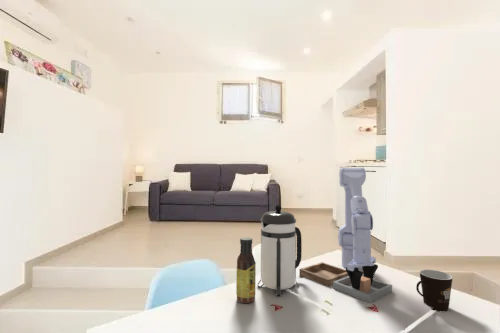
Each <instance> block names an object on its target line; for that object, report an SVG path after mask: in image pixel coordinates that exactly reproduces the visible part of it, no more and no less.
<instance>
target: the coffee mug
mask: <svg viewBox="0 0 500 333" xmlns="http://www.w3.org/2000/svg"><path fill="white" fill-rule="evenodd" d="M419 279H420V280H419V281H418V282H417V283H416V291H417V293H418V294H419V295H420V296H421V297H422V299H423V300H422V301H423V303H424V304H425V305H426V306H428V307H431V310H432V311H435V310H436V311H435V312H440V311H442V312H443V311H445V312H448V311H449V306H450V300H451V292H452V284H453V275H451V274H450V273H447V272H444V271H441V270H436V269H421V270H419ZM420 286H421V291H420V289H419V287H420Z"/></svg>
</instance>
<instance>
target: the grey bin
mask: <svg viewBox="0 0 500 333" xmlns="http://www.w3.org/2000/svg"><path fill="white" fill-rule="evenodd" d="M362 276H364V274H362ZM332 289H335V290H337V291H339V292H342V293H343V294H346V295H349V296H351V297H354V298H357V299H358V300H360V301H361V300H362V301H364V302H366V303H369V304H371V303H373V302H375V301H377V300H379V299H382V298H383V297H385V296H387V295H389V294H391V293H392V292H393V285H392V284H389V283H386V282H383V281H380V280H377V279H374V278H373V281H372V284H371V290H370V291H368V292H366V293H365V292H362V291H359V290H357V289H354V288H352V284H351V280H350V278H349V276H347V277H344V278H342V279H339V280H336V281H334V282H333V285H332Z"/></svg>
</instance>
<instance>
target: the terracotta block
mask: <svg viewBox="0 0 500 333" xmlns="http://www.w3.org/2000/svg"><path fill="white" fill-rule="evenodd" d="M370 290H371V279H370V278H367V277H364V275H363V276H362V277H361V281H360V289H359V291H362V292H365V293H366V292H368V291H370Z"/></svg>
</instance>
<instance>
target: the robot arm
mask: <svg viewBox="0 0 500 333" xmlns="http://www.w3.org/2000/svg"><path fill="white" fill-rule="evenodd" d="M338 175H339V186H340V187H342V188H343V189H344V224H343V225H341V226H339V228H338V235H337V240H338V246H340V247H341V264H340V265H338V267H340V266H341V267H343V269H345V270H346V272H347V273H348V275H349V278H350V280H351V284H352V288H354V289H357V290H359V289H360V281H361V277H362V275H363V276H364V277H367V278H370V279H371V284H372V281H373V279H374V277H375V273H376V271H377V270H378V268H379V265H378V264H376V263H377V261H376V259H377V258H376V257H375V256H372V231H373V228H374V218H373V214H372V213H371V211H369V206H368V202H367V199H366V198H365V196H363V189H362V188H363V187H362V186H363V185H364V183H365V182H366V180H367V179H366V178H367V177H366V176H367V174H366V169H365V168H364V167H341V168H340V169H339V174H338ZM359 269H362V271H361V270H359Z"/></svg>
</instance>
